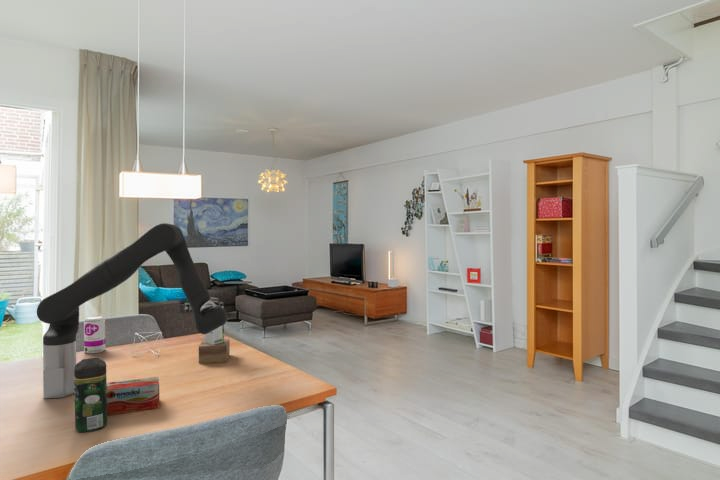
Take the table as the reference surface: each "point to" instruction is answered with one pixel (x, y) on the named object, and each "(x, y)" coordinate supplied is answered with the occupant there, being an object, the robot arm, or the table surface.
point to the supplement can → (94, 334)
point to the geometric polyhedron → (145, 344)
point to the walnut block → (214, 352)
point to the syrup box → (215, 336)
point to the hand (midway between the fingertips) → (202, 303)
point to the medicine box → (132, 395)
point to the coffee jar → (90, 394)
